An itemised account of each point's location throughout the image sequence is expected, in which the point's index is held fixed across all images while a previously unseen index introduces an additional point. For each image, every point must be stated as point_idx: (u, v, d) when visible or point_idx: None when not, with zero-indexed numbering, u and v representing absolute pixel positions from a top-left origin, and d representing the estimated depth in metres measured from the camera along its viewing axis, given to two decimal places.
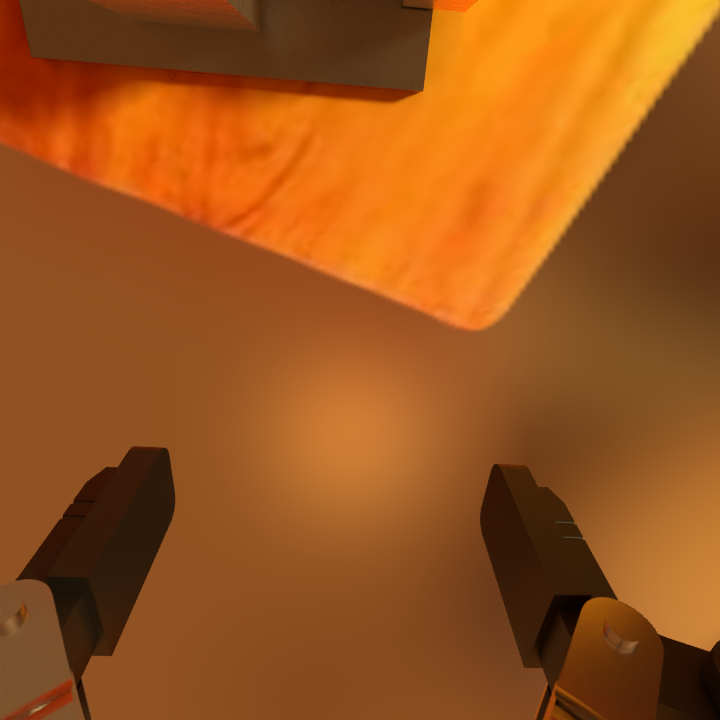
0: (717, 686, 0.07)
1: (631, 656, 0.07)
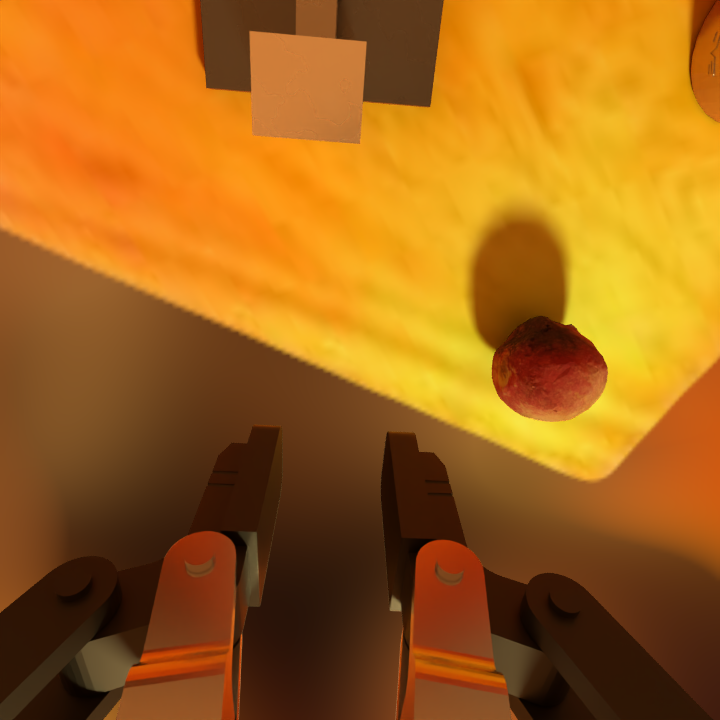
0: (536, 629, 0.07)
1: (451, 586, 0.08)
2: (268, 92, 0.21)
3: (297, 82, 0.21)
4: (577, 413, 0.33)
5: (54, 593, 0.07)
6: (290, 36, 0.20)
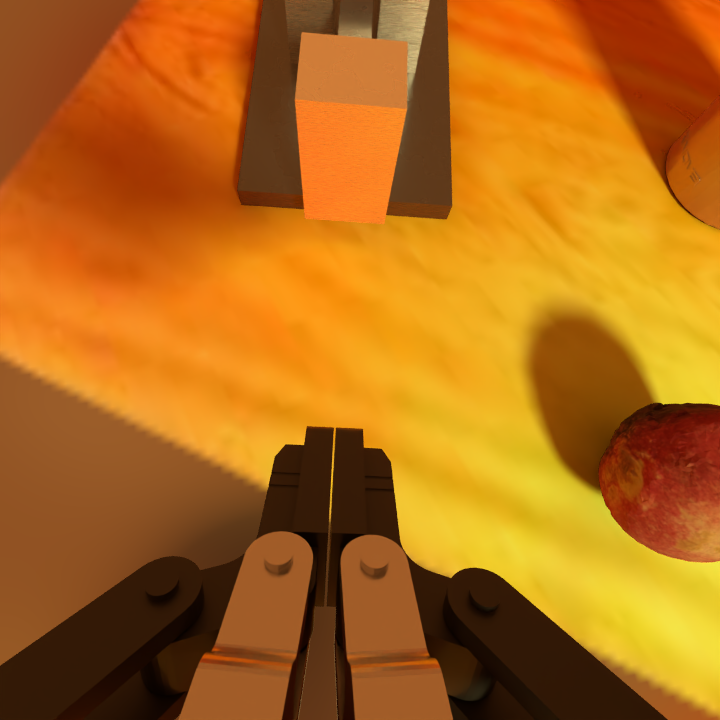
0: (461, 630, 0.07)
1: (372, 580, 0.08)
2: (314, 70, 0.21)
3: (344, 64, 0.21)
4: None
5: (143, 589, 0.07)
6: (338, 35, 0.22)
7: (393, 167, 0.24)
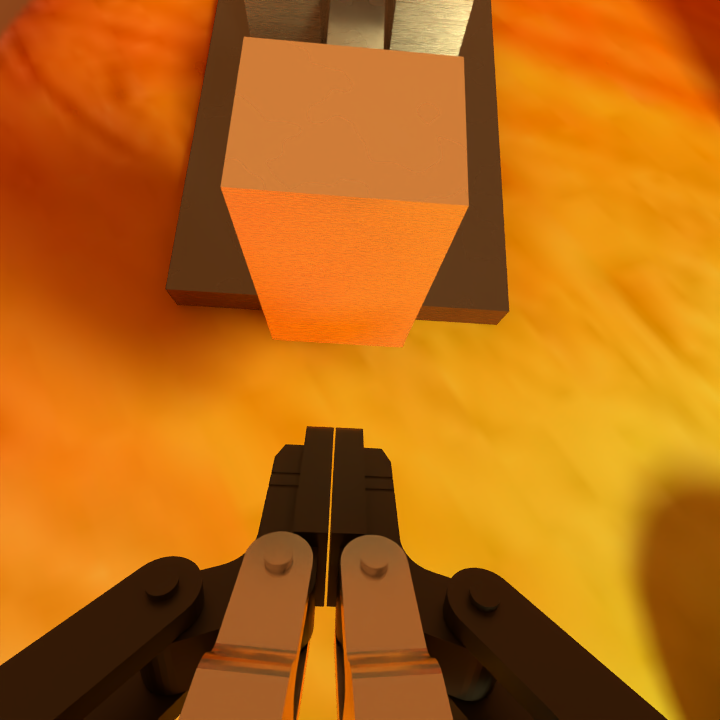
0: (461, 630, 0.07)
1: (372, 580, 0.08)
2: (267, 118, 0.10)
3: (331, 105, 0.10)
4: None
5: (143, 589, 0.07)
6: (321, 44, 0.10)
7: (426, 288, 0.13)
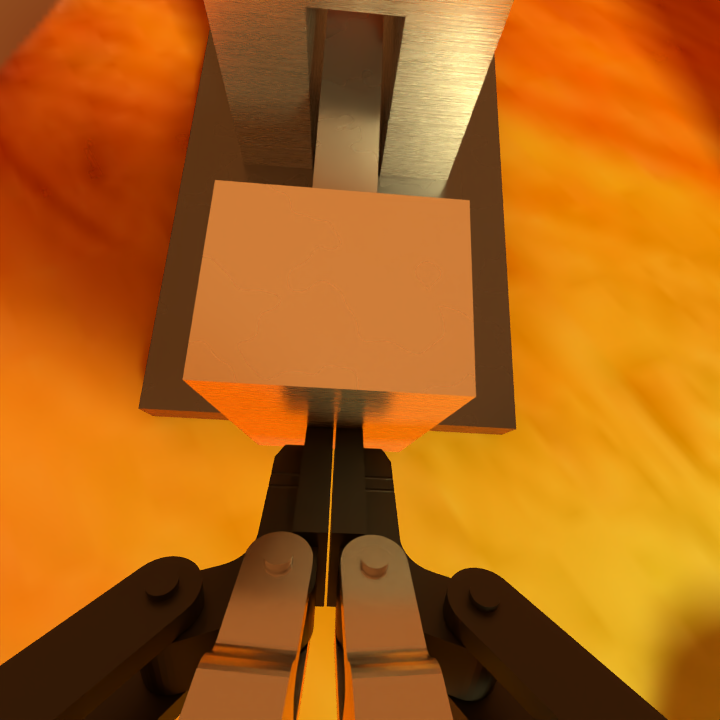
0: (461, 630, 0.07)
1: (372, 580, 0.08)
2: (240, 286, 0.08)
3: (316, 267, 0.09)
4: None
5: (143, 589, 0.07)
6: (304, 189, 0.09)
7: (425, 429, 0.12)
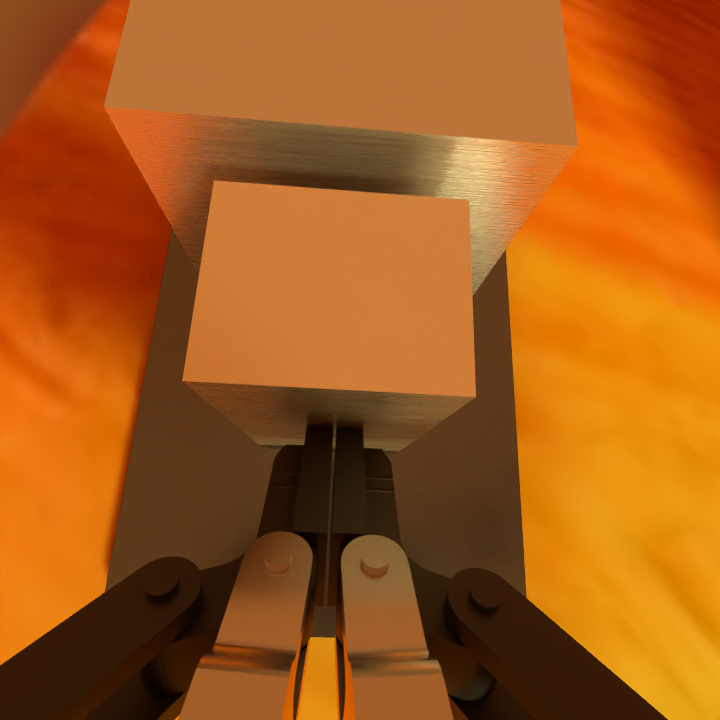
0: (461, 630, 0.07)
1: (372, 580, 0.08)
2: (240, 288, 0.08)
3: (314, 267, 0.09)
4: None
5: (143, 589, 0.07)
6: (304, 189, 0.09)
7: (425, 429, 0.12)
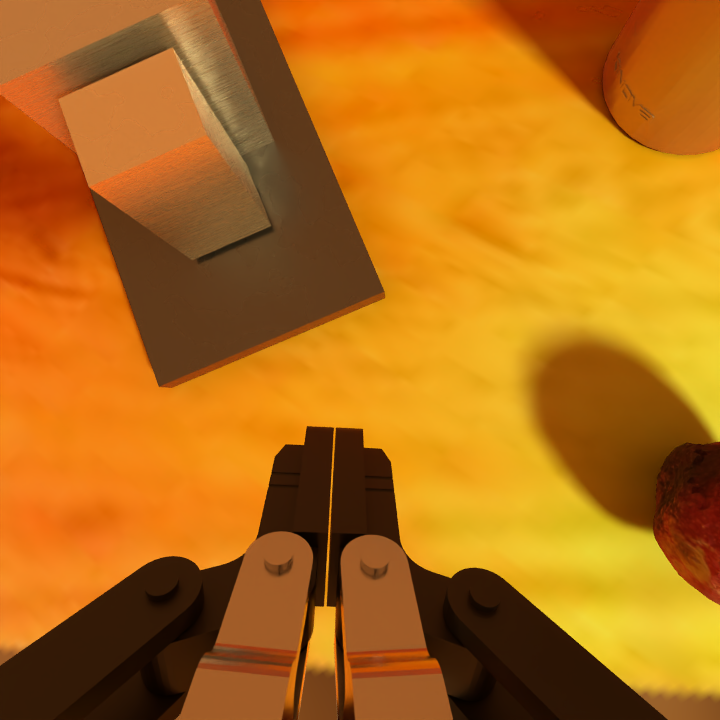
0: (461, 630, 0.07)
1: (372, 580, 0.08)
2: (92, 139, 0.18)
3: (118, 115, 0.18)
4: None
5: (144, 589, 0.07)
6: (97, 82, 0.18)
7: (238, 183, 0.21)
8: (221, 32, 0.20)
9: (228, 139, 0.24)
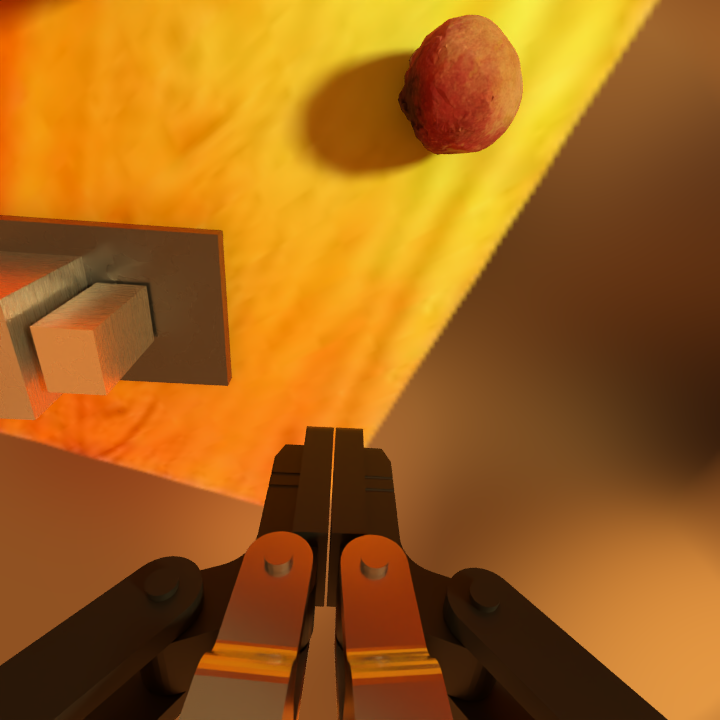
0: (461, 630, 0.07)
1: (372, 580, 0.08)
2: (78, 384, 0.32)
3: (66, 367, 0.32)
4: (503, 61, 0.27)
5: (144, 589, 0.07)
6: (42, 370, 0.32)
7: (118, 310, 0.34)
8: (18, 290, 0.30)
9: (81, 297, 0.35)
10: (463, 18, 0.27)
